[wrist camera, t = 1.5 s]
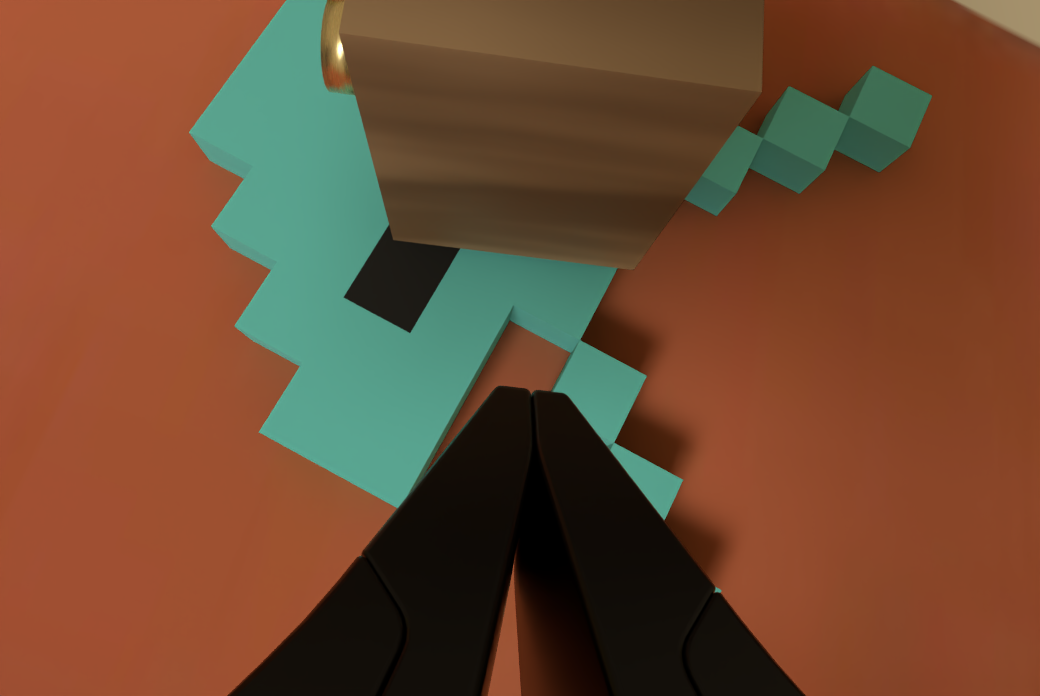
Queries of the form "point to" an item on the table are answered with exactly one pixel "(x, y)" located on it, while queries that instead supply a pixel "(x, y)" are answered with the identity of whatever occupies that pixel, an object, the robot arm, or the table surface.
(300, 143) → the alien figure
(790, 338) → the table surface
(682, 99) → the marking gauge
